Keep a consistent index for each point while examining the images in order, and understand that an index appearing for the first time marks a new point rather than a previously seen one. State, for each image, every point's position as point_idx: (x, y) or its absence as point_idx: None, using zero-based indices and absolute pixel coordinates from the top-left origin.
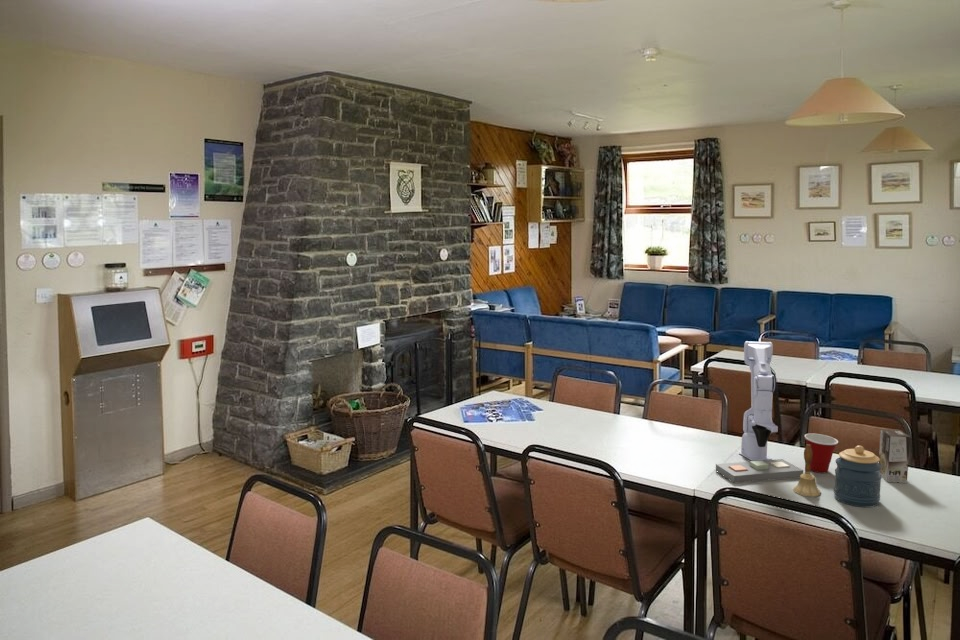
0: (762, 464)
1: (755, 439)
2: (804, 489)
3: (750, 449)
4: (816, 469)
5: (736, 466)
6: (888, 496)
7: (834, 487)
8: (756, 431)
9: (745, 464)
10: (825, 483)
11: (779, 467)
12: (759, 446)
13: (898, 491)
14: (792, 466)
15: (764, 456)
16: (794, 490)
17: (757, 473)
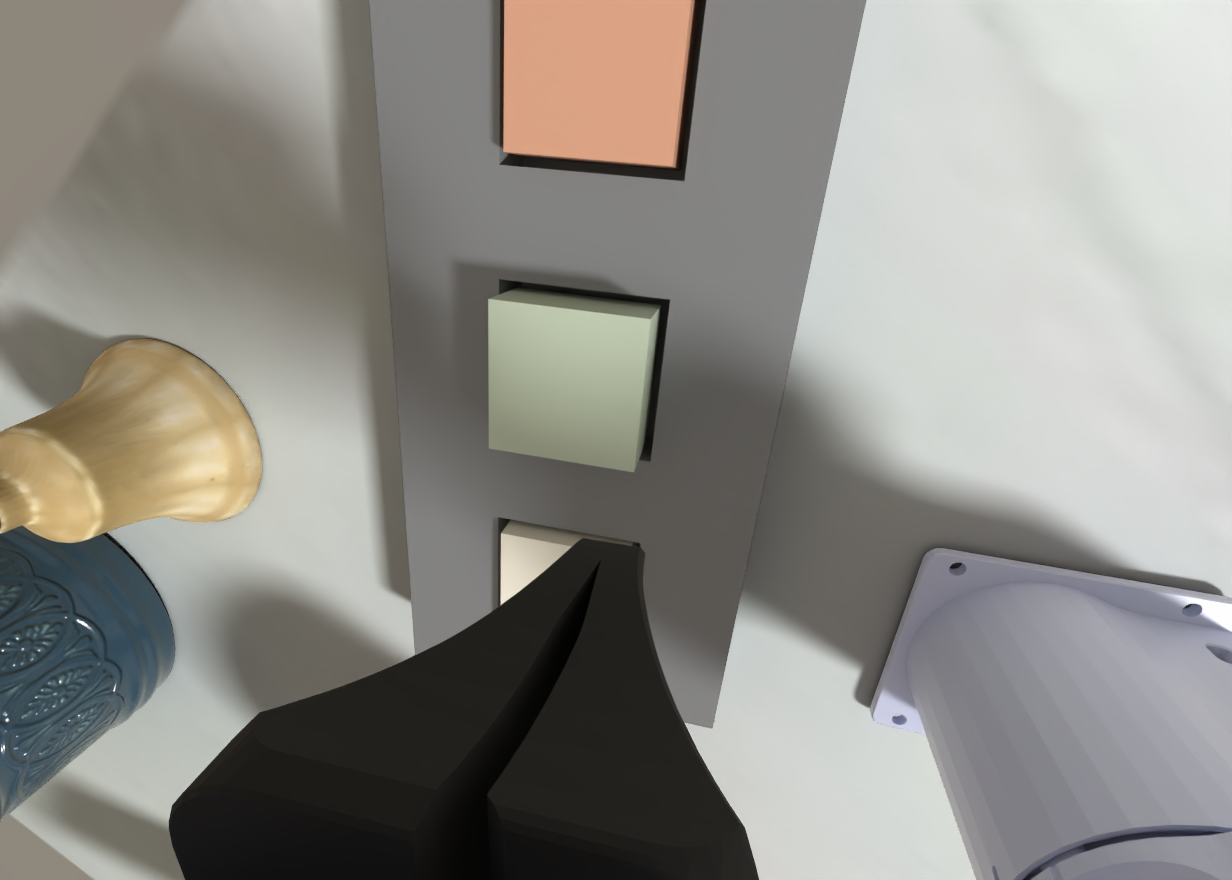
0: (510, 390)
1: (1067, 802)
2: (82, 388)
3: (1057, 650)
4: None
5: (633, 58)
6: (132, 755)
7: (49, 569)
8: (528, 737)
9: (707, 282)
10: (319, 652)
11: (503, 543)
12: (592, 541)
13: None
14: None
15: (912, 689)
16: (164, 350)
17: (396, 211)
